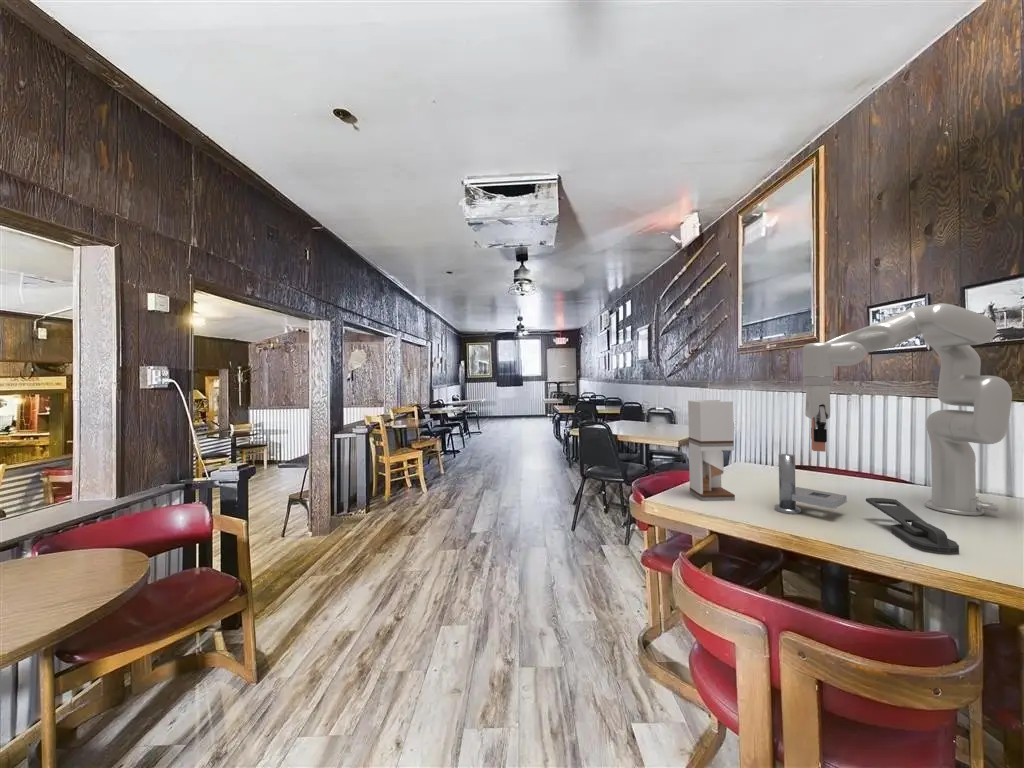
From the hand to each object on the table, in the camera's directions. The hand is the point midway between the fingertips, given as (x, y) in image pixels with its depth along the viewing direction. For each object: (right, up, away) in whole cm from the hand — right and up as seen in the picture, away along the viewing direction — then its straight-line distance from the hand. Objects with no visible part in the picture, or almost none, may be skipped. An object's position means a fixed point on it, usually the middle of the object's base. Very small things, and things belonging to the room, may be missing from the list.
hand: (818, 440), depth 127 cm
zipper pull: (+11, -23, -18) cm, 31 cm away
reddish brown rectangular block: (0, -3, 0) cm, 3 cm away
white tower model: (-23, -24, +21) cm, 39 cm away
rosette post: (-2, -23, +2) cm, 23 cm away
